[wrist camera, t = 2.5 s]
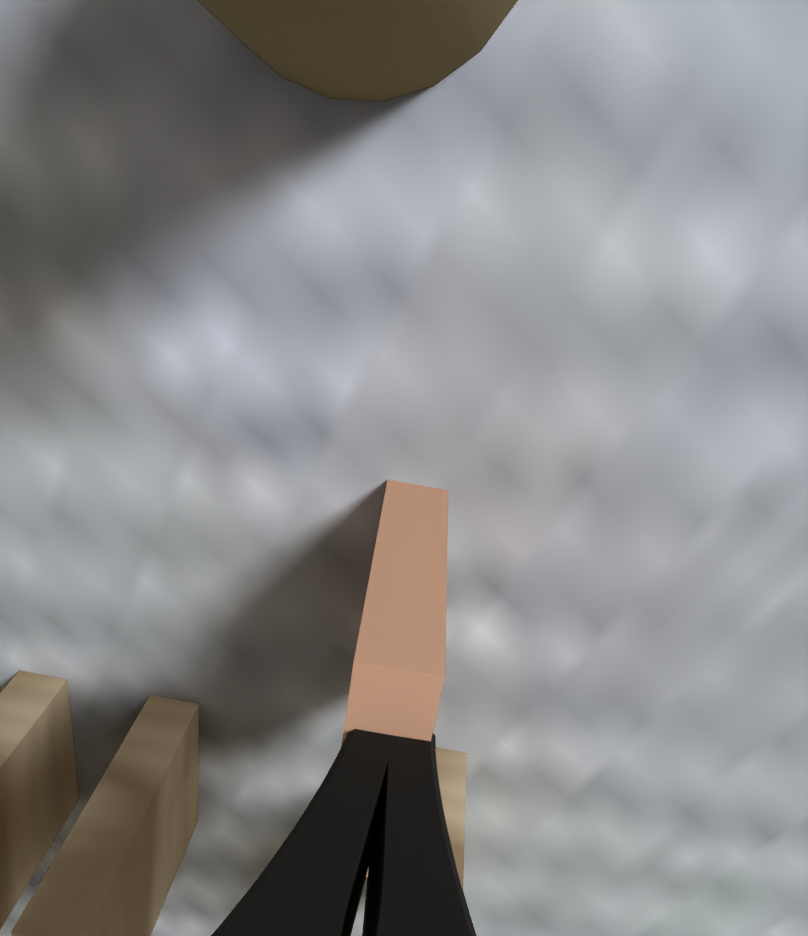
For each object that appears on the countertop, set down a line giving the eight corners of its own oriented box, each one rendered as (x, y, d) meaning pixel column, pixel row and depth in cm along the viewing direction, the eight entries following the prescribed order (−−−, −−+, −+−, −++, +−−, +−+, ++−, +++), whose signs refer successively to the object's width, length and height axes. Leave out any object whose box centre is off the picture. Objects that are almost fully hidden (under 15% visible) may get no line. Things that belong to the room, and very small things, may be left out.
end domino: (393, 858, 22) (359, 1125, 16) (416, 743, 19) (388, 1004, 14) (437, 866, 22) (420, 1138, 16) (466, 753, 19) (459, 1018, 14)
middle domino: (153, 812, 22) (34, 1060, 16) (150, 694, 20) (11, 932, 14) (197, 821, 22) (94, 1072, 16) (199, 703, 20) (80, 945, 14)
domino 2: (364, 637, 19) (324, 870, 13) (389, 470, 16) (353, 662, 11) (416, 644, 19) (399, 881, 13) (448, 479, 16) (445, 675, 11)
